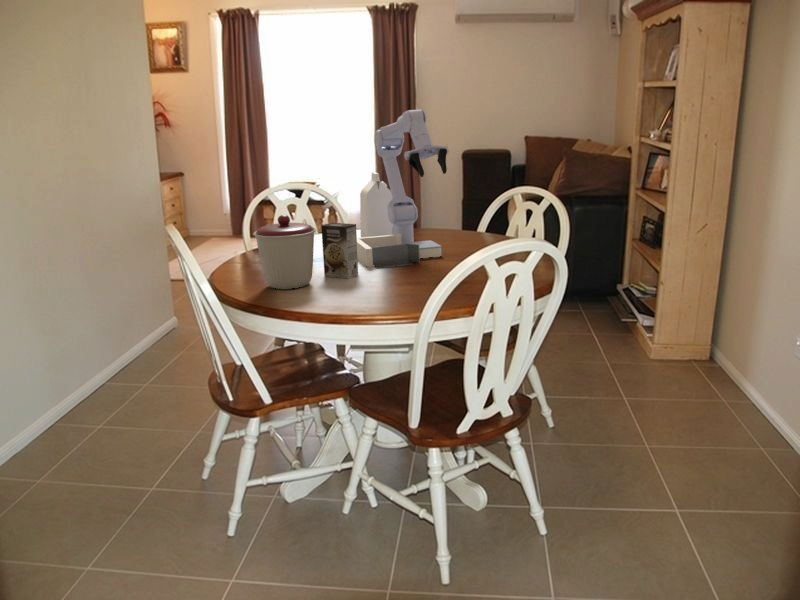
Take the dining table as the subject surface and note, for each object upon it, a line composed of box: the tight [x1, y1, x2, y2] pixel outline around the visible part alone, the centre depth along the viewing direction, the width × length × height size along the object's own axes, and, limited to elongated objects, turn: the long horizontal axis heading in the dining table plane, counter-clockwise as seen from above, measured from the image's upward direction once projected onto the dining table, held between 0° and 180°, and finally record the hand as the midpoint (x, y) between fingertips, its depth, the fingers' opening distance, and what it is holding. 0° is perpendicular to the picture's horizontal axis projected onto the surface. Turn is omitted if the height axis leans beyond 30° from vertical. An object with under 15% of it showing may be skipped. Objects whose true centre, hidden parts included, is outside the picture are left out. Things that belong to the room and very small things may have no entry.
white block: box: [407, 240, 443, 259], centre depth 247 cm, size 12×9×4 cm
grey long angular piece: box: [371, 244, 421, 269], centre depth 233 cm, size 6×16×6 cm, turn 106°
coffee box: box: [320, 222, 359, 280], centre depth 220 cm, size 9×6×16 cm
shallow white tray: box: [357, 234, 402, 268], centre depth 244 cm, size 22×18×6 cm
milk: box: [359, 172, 393, 238], centre depth 274 cm, size 12×12×26 cm
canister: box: [253, 214, 317, 290], centre depth 209 cm, size 18×18×21 cm
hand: (433, 173), depth 227 cm, fingers open, 7 cm apart
